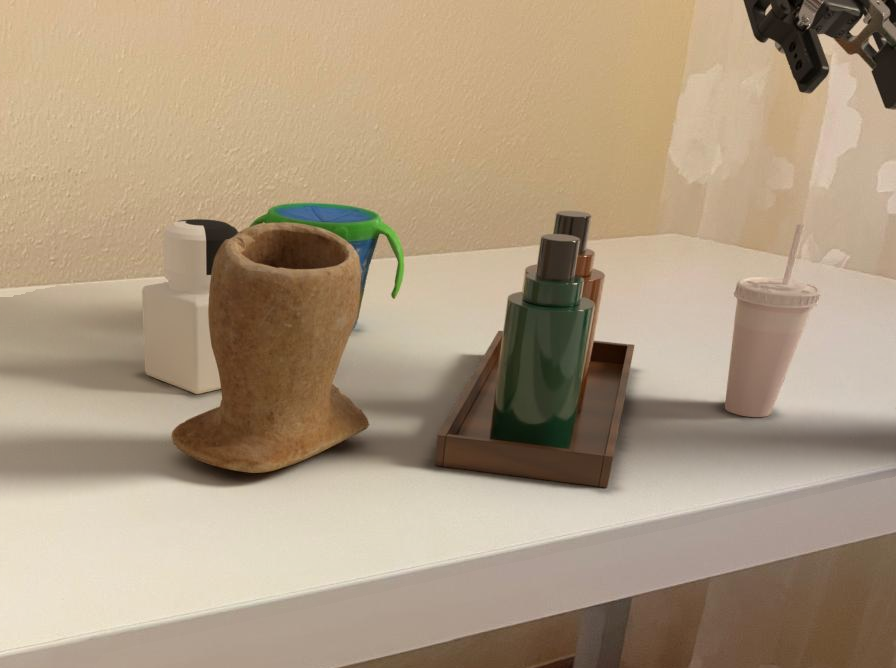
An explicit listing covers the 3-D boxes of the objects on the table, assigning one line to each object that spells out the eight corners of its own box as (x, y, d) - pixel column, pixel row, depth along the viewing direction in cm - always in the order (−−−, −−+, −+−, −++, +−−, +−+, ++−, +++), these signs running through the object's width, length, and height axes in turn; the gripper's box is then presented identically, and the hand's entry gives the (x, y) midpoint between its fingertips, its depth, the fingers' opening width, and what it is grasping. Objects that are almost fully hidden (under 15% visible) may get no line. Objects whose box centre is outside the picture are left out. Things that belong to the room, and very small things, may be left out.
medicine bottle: (209, 361, 105) (207, 211, 98) (262, 380, 101) (265, 225, 94) (143, 375, 101) (137, 219, 94) (196, 395, 97) (194, 234, 90)
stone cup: (277, 503, 78) (283, 257, 70) (149, 458, 84) (141, 226, 76) (410, 448, 88) (430, 226, 79) (287, 411, 94) (294, 201, 85)
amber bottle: (597, 407, 96) (631, 216, 88) (551, 421, 93) (582, 224, 84) (538, 389, 99) (566, 204, 91) (491, 402, 96) (516, 211, 88)
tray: (495, 355, 110) (498, 330, 109) (629, 369, 107) (634, 344, 106) (434, 465, 85) (437, 435, 84) (607, 488, 83) (613, 456, 82)
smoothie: (802, 421, 97) (855, 233, 89) (729, 423, 96) (775, 233, 88) (764, 397, 102) (811, 217, 94) (694, 398, 101) (735, 217, 93)
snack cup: (411, 324, 118) (421, 211, 112) (379, 349, 110) (387, 229, 104) (265, 305, 122) (267, 195, 117) (223, 328, 114) (223, 211, 108)
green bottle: (587, 446, 88) (624, 240, 80) (536, 463, 85) (569, 249, 77) (523, 425, 92) (552, 225, 83) (472, 440, 88) (497, 234, 80)
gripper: (757, -153, 84) (826, 32, 80) (901, -112, 90) (972, 63, 86) (688, -55, 91) (749, 120, 87) (826, -22, 96) (889, 144, 93)
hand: (859, 92), depth 87 cm, fingers open, 8 cm apart
